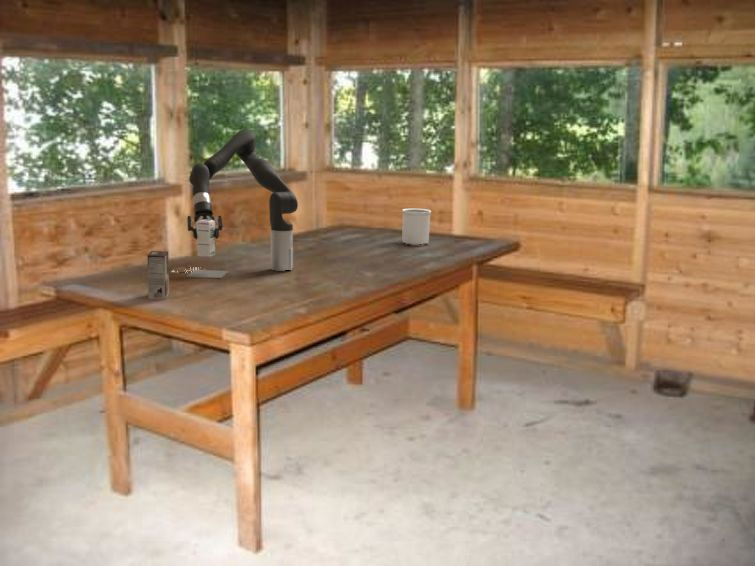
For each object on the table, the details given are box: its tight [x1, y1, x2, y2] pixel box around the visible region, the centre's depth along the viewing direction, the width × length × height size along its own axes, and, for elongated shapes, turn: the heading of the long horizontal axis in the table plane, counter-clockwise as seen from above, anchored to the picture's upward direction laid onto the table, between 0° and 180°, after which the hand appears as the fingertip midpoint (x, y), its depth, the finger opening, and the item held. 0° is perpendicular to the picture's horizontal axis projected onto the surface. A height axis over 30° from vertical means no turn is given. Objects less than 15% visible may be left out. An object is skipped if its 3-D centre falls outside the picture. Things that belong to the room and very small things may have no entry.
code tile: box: [170, 266, 200, 274], centre depth 366 cm, size 12×12×1 cm
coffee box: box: [147, 250, 170, 300], centre depth 315 cm, size 9×6×16 cm
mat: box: [186, 269, 229, 280], centre depth 358 cm, size 14×14×1 cm
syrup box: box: [196, 220, 217, 258], centre depth 356 cm, size 6×6×14 cm
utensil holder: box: [401, 207, 432, 244], centre depth 454 cm, size 15×15×18 cm
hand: (206, 237), depth 354 cm, fingers closed on syrup box, 7 cm apart
